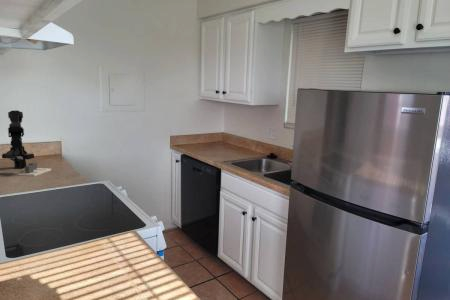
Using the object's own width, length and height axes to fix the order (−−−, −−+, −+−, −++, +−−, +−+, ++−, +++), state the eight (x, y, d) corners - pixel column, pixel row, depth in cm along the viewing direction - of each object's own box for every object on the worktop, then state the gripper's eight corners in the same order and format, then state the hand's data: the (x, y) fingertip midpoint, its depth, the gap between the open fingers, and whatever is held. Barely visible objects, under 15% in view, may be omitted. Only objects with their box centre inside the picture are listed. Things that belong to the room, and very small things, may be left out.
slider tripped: (25, 172, 210) (24, 166, 210) (29, 171, 214) (29, 165, 213) (29, 172, 210) (28, 166, 209) (33, 171, 214) (33, 165, 213)
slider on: (29, 169, 219) (28, 163, 218) (33, 168, 222) (32, 162, 222) (33, 169, 218) (32, 163, 217) (37, 168, 222) (36, 162, 221)
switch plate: (17, 175, 209) (17, 173, 209) (34, 169, 225) (34, 167, 225) (34, 176, 208) (34, 174, 207) (51, 170, 223) (51, 168, 223)
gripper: (-7, 146, 203) (-4, 171, 206) (21, 147, 201) (23, 172, 204) (7, 143, 214) (10, 167, 217) (33, 144, 212) (36, 168, 215)
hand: (19, 169), depth 213 cm, fingers closed
